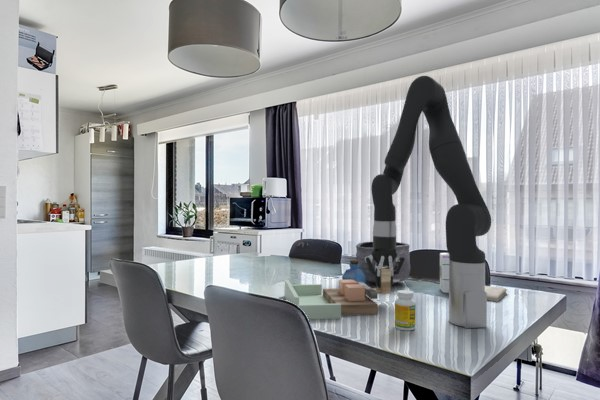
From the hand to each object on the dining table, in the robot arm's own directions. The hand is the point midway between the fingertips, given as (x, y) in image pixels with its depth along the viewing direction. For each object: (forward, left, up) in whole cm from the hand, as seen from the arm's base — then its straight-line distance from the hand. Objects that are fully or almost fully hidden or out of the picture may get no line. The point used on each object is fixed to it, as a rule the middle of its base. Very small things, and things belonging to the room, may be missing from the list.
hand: (383, 286), depth 128 cm
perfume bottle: (+17, +5, -6) cm, 19 cm away
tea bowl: (+34, -12, -6) cm, 37 cm away
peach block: (-4, +11, -3) cm, 12 cm away
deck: (0, +12, -6) cm, 13 cm away
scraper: (0, +3, -2) cm, 3 cm away
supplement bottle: (-24, +3, -6) cm, 25 cm away
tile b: (+4, +11, -3) cm, 12 cm away
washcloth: (+9, -43, -6) cm, 44 cm away
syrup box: (+16, -32, -6) cm, 36 cm away
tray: (0, +24, -6) cm, 25 cm away
